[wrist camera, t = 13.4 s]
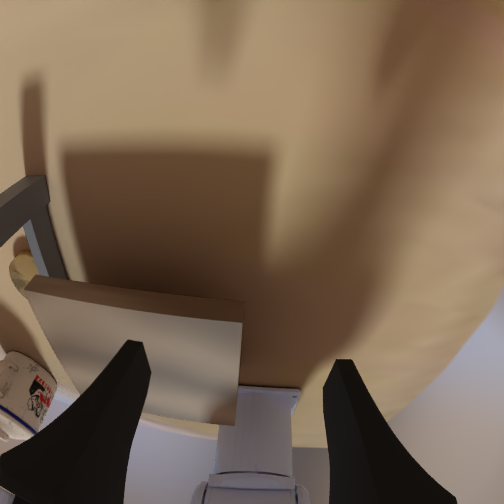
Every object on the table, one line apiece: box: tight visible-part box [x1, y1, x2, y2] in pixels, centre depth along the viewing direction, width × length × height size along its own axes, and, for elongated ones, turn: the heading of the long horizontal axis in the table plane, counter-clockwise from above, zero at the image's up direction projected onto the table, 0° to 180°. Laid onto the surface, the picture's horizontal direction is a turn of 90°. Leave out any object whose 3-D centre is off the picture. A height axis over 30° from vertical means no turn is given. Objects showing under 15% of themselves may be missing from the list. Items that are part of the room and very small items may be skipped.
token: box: [9, 250, 40, 299], centre depth 21 cm, size 5×5×2 cm
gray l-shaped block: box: [0, 175, 68, 280], centre depth 18 cm, size 12×2×6 cm, turn 177°
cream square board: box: [23, 274, 245, 426], centre depth 20 cm, size 12×14×6 cm
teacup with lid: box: [0, 351, 57, 442], centre depth 26 cm, size 12×9×12 cm
